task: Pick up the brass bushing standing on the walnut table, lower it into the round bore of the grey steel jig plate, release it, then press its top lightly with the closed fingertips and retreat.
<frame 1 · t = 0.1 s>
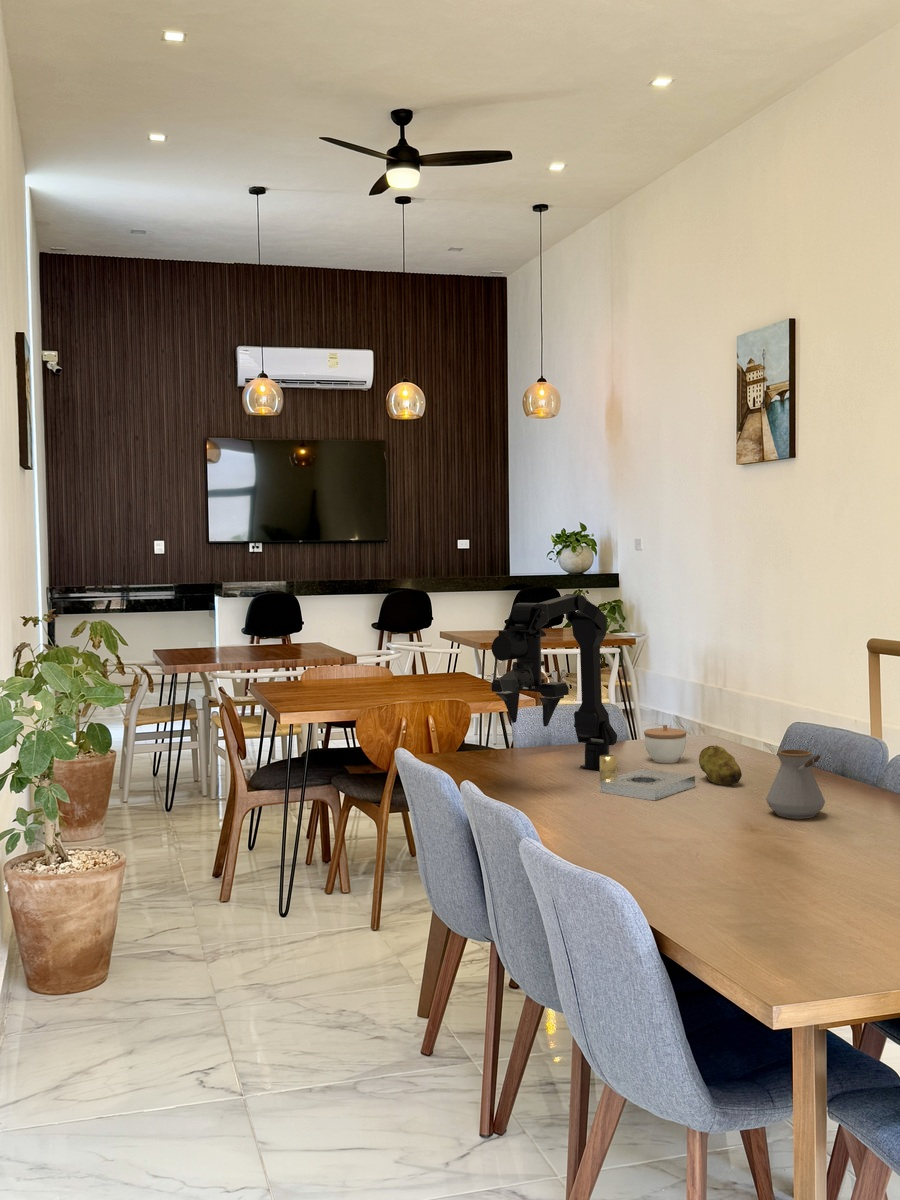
hand: (529, 724, 251), 15 cm above the table, fingers open, 9 cm apart
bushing: (608, 781, 257), on the table
coffee pot: (802, 821, 217), on the table
potato: (719, 782, 254), on the table
jig: (648, 789, 247), on the table
lidded jar: (665, 761, 281), on the table
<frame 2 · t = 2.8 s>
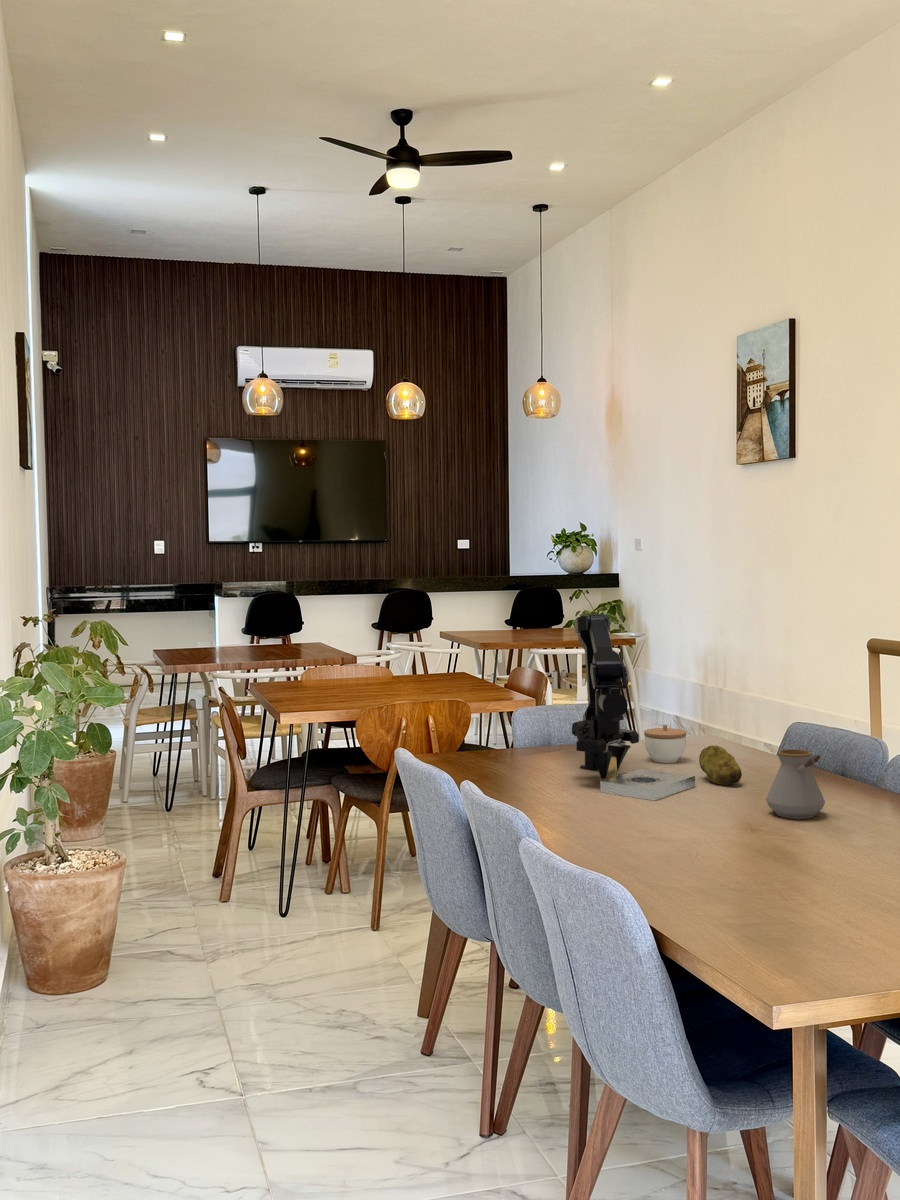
hand: (608, 776, 257), 1 cm above the table, fingers closed on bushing, 4 cm apart
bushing: (608, 781, 257), on the table, touching gripper
everything else where it was.
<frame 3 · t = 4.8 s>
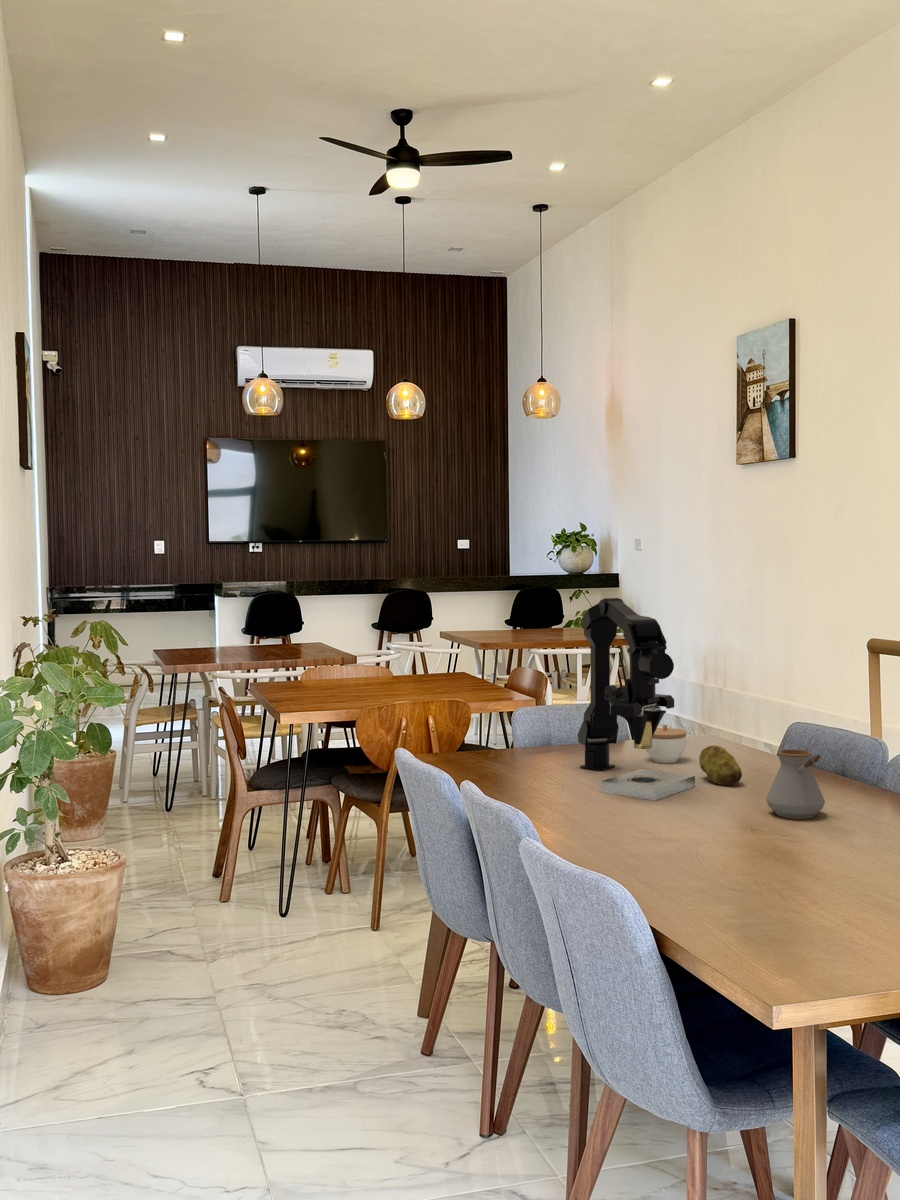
hand: (643, 743, 246), 11 cm above the table, fingers closed on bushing, 4 cm apart
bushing: (643, 747, 246), point 10 cm above the table, touching gripper
everything else where it was.
when the fingers open (3 cm above the table, at t = 6.9 s): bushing drops 2 cm, resting in jig.
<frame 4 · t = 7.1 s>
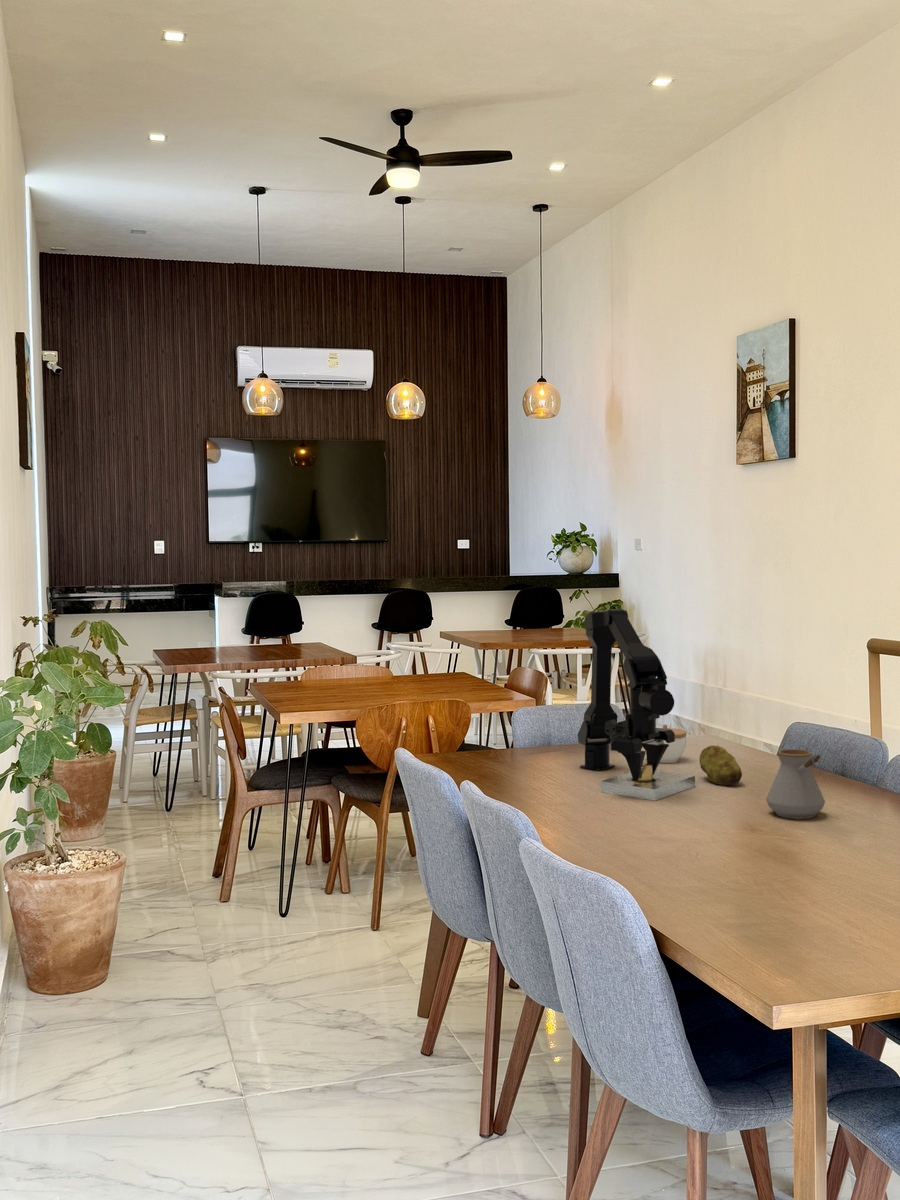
hand: (643, 777, 246), 3 cm above the table, fingers open, 6 cm apart
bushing: (643, 790, 246), resting in jig
everything else where it was.
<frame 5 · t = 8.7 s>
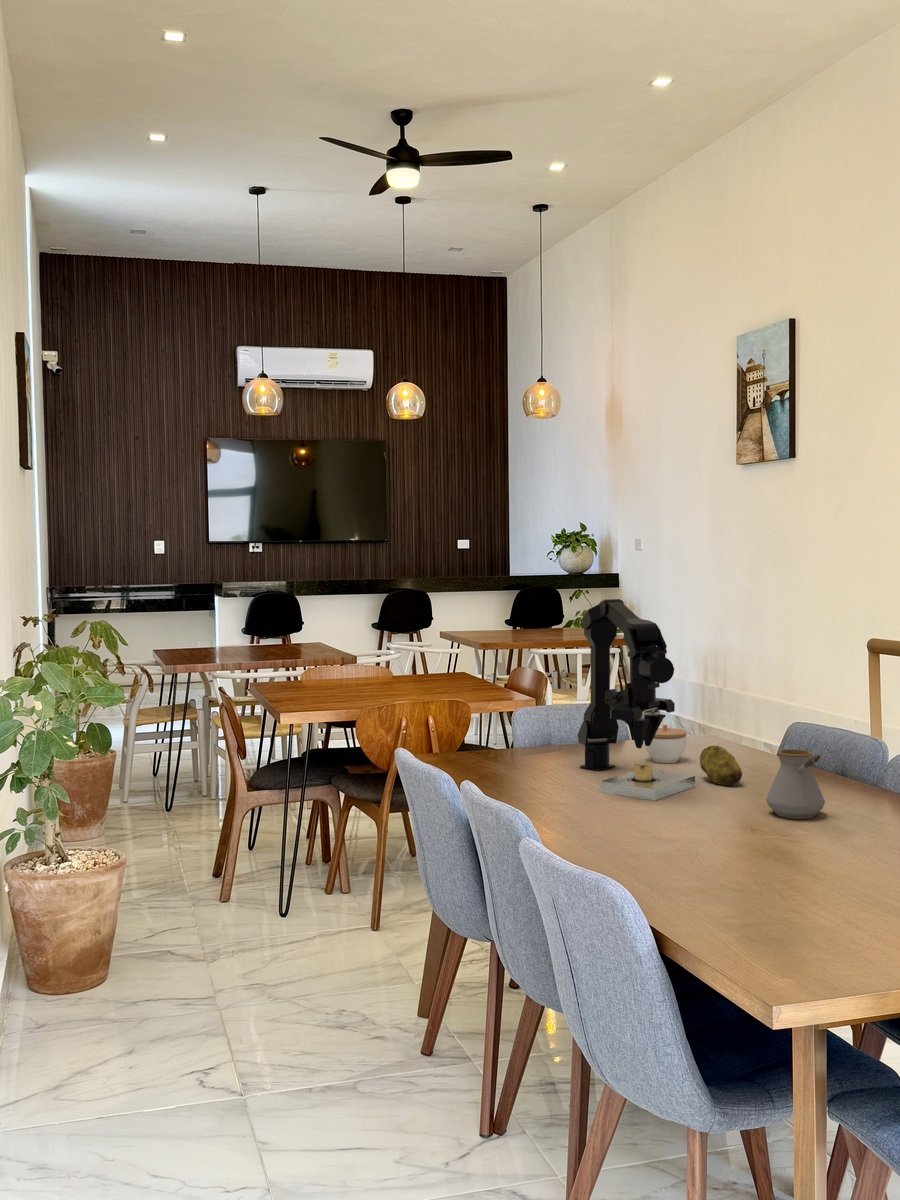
hand: (643, 747, 246), 10 cm above the table, fingers open, 3 cm apart
nothing on the table moved.
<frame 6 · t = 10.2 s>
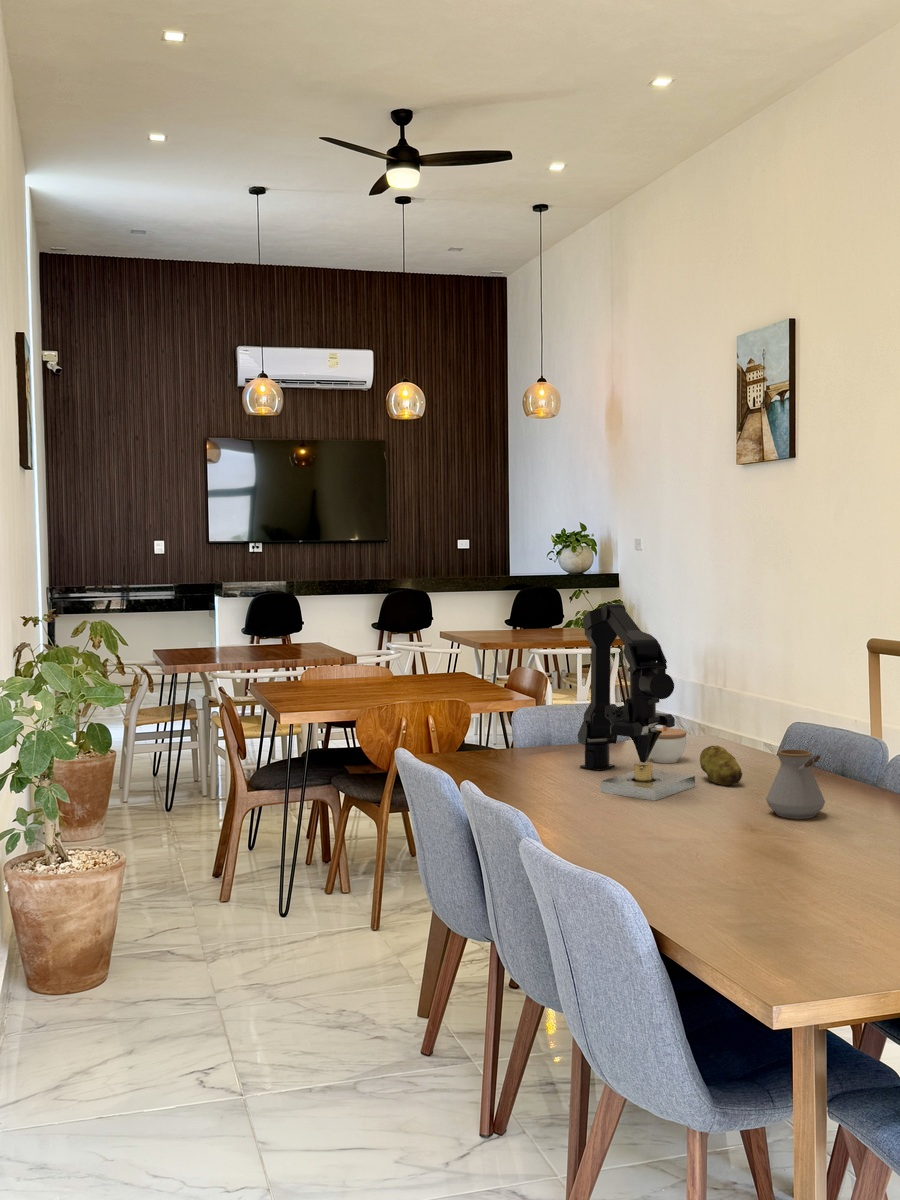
hand: (643, 762, 246), 7 cm above the table, fingers closed
nothing on the table moved.
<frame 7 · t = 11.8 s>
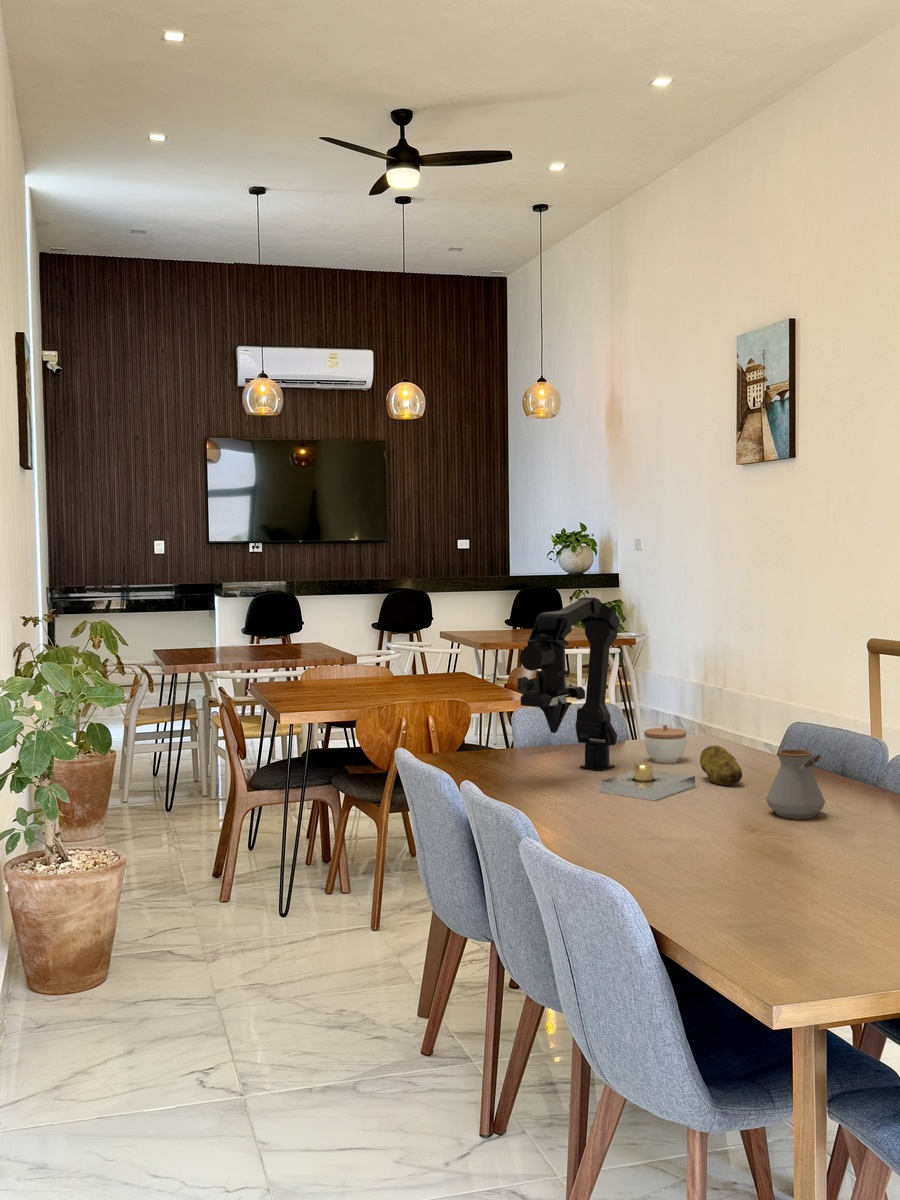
hand: (553, 732, 255), 12 cm above the table, fingers closed
nothing on the table moved.
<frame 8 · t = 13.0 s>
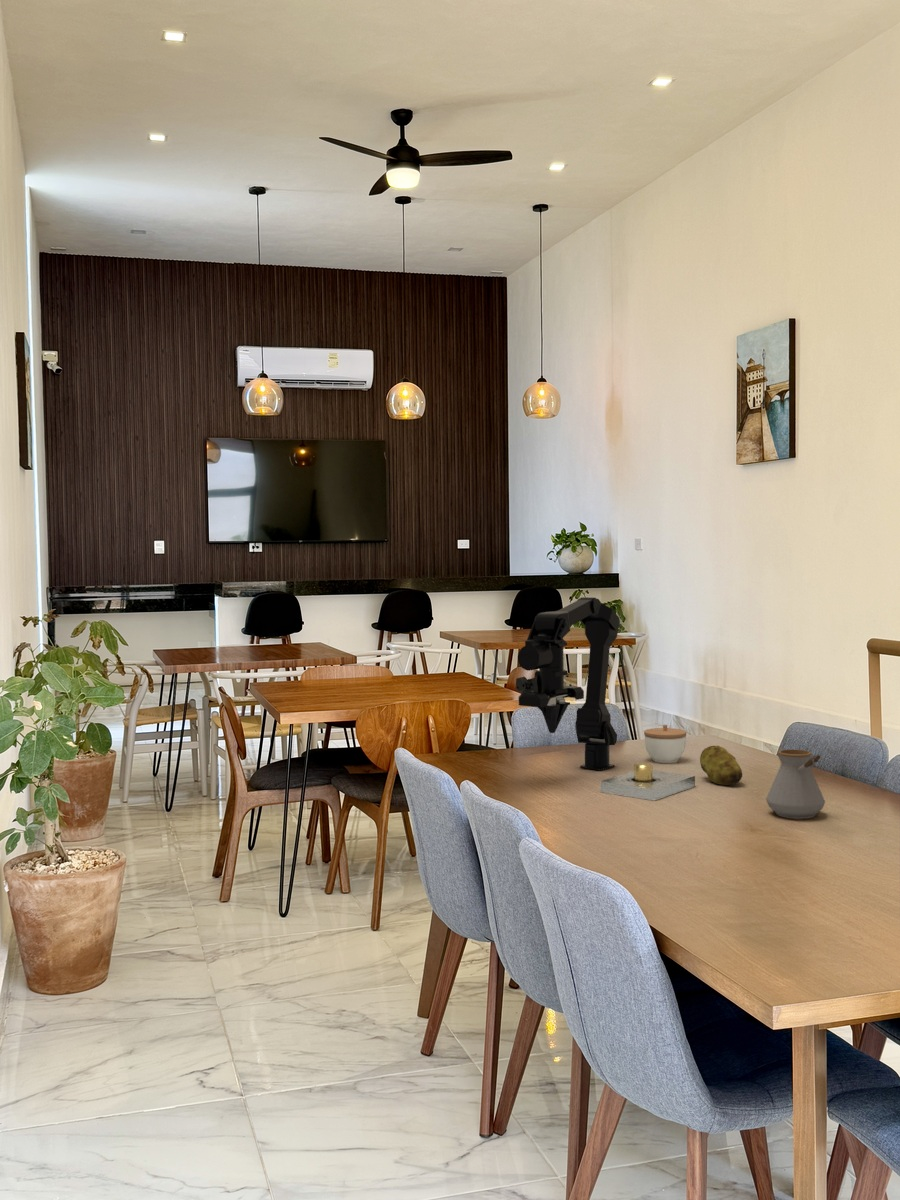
hand: (552, 732, 255), 12 cm above the table, fingers closed
nothing on the table moved.
at the end: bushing 0.0 cm from the target spot in the jig, point 0.0 cm above the jig's base; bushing tilted 0°; the gripper is holding nothing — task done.
